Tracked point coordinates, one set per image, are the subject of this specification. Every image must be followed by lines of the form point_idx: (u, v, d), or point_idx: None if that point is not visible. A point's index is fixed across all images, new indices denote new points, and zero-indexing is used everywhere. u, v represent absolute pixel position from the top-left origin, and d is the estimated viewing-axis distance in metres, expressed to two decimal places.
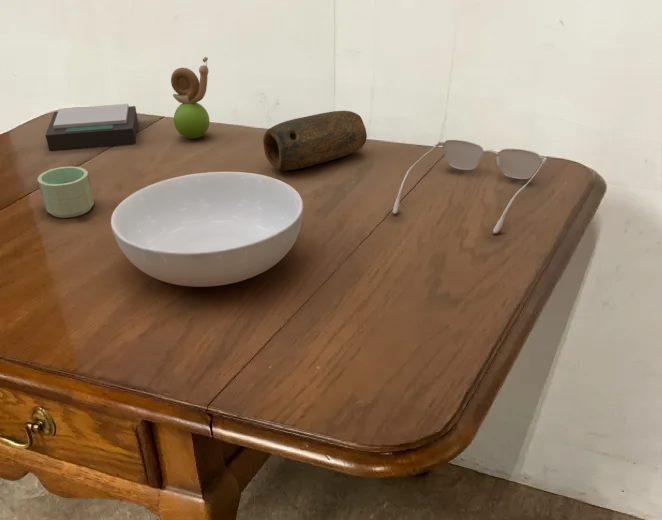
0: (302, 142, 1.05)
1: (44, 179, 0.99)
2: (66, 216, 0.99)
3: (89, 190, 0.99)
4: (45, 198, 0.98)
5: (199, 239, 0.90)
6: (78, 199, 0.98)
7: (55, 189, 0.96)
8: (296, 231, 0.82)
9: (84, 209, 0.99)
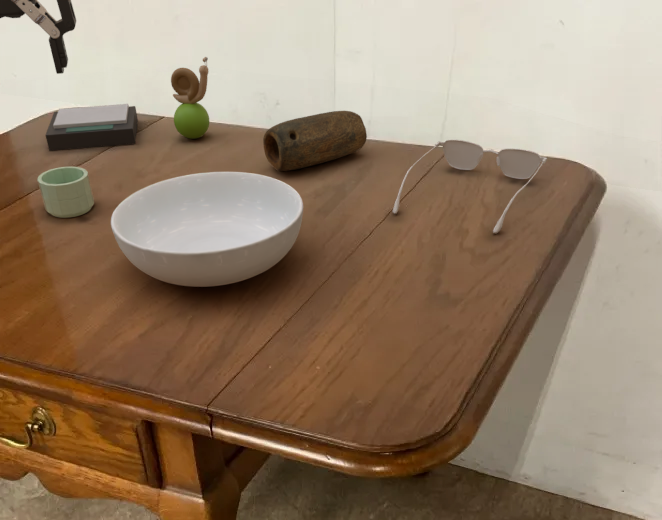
0: (302, 142, 1.05)
1: (44, 179, 0.99)
2: (66, 216, 0.99)
3: (89, 190, 0.99)
4: (45, 198, 0.98)
5: (199, 239, 0.90)
6: (78, 199, 0.98)
7: (55, 189, 0.96)
8: (296, 231, 0.82)
9: (84, 209, 0.99)
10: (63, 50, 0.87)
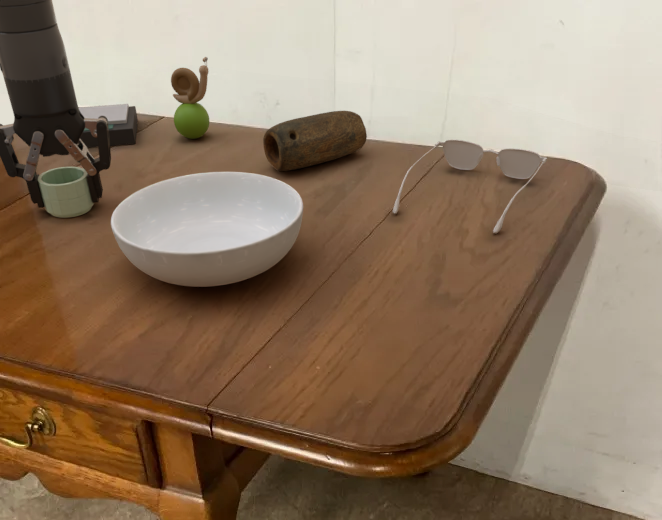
0: (302, 142, 1.05)
1: (44, 179, 0.99)
2: (66, 216, 0.99)
3: (89, 190, 0.99)
4: (45, 198, 0.98)
5: (199, 239, 0.90)
6: (78, 199, 0.98)
7: (55, 189, 0.96)
8: (296, 231, 0.82)
9: (84, 209, 0.99)
10: (99, 184, 0.99)
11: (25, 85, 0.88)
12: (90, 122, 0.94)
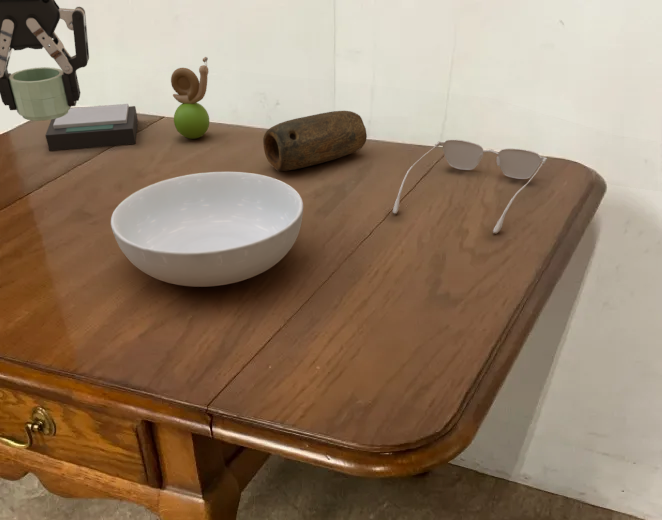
0: (302, 142, 1.05)
1: (16, 79, 0.91)
2: (40, 119, 0.91)
3: (65, 91, 0.91)
4: (16, 98, 0.90)
5: (199, 239, 0.90)
6: (52, 100, 0.90)
7: (27, 86, 0.88)
8: (296, 231, 0.82)
9: (59, 112, 0.91)
10: (75, 85, 0.91)
11: None
12: (66, 12, 0.87)
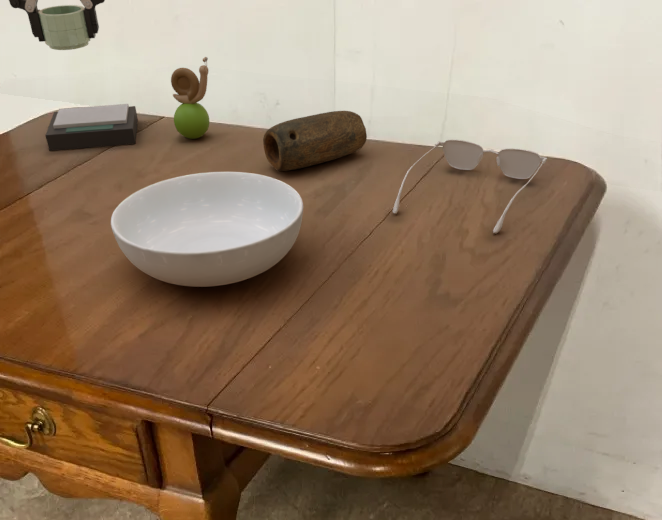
0: (302, 142, 1.05)
1: None
2: (64, 48, 1.06)
3: (86, 25, 1.07)
4: (44, 30, 1.05)
5: (199, 239, 0.90)
6: (75, 31, 1.05)
7: (54, 19, 1.04)
8: (296, 231, 0.82)
9: (81, 42, 1.07)
10: (95, 19, 1.07)
11: None
12: None
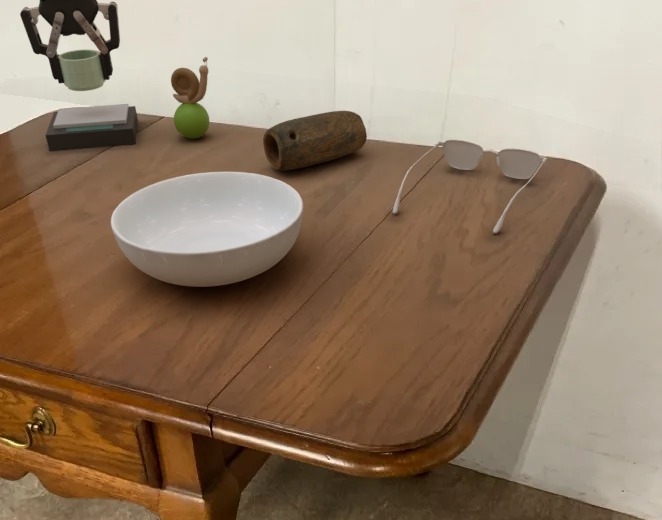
0: (302, 142, 1.05)
1: (63, 58, 1.17)
2: (82, 89, 1.17)
3: (101, 68, 1.17)
4: (64, 74, 1.16)
5: (199, 239, 0.90)
6: (92, 74, 1.16)
7: (73, 63, 1.14)
8: (296, 231, 0.82)
9: (97, 84, 1.17)
10: (110, 62, 1.17)
11: None
12: (103, 5, 1.12)
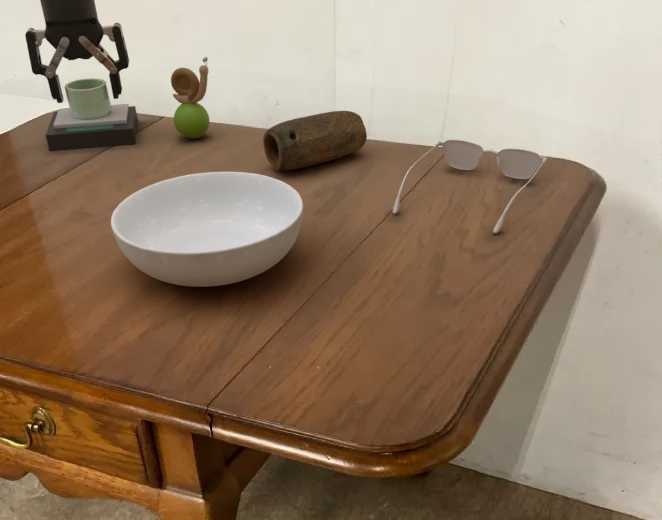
0: (302, 142, 1.05)
1: (70, 87, 1.20)
2: (88, 118, 1.19)
3: (107, 97, 1.20)
4: (71, 103, 1.18)
5: (199, 239, 0.90)
6: (98, 103, 1.18)
7: (80, 93, 1.17)
8: (296, 231, 0.82)
9: (103, 112, 1.20)
10: (119, 82, 1.19)
11: None
12: (107, 28, 1.14)
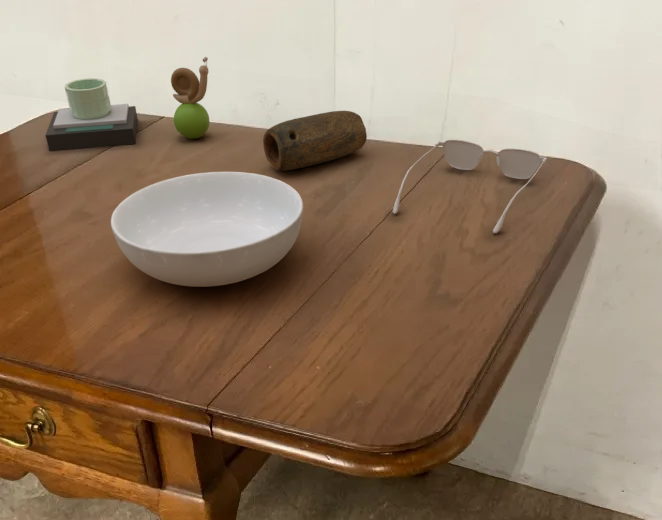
0: (302, 142, 1.05)
1: (70, 87, 1.20)
2: (88, 118, 1.19)
3: (107, 97, 1.20)
4: (71, 103, 1.18)
5: (199, 239, 0.90)
6: (98, 103, 1.18)
7: (80, 93, 1.17)
8: (296, 231, 0.82)
9: (103, 112, 1.20)
10: None
11: None
12: None
